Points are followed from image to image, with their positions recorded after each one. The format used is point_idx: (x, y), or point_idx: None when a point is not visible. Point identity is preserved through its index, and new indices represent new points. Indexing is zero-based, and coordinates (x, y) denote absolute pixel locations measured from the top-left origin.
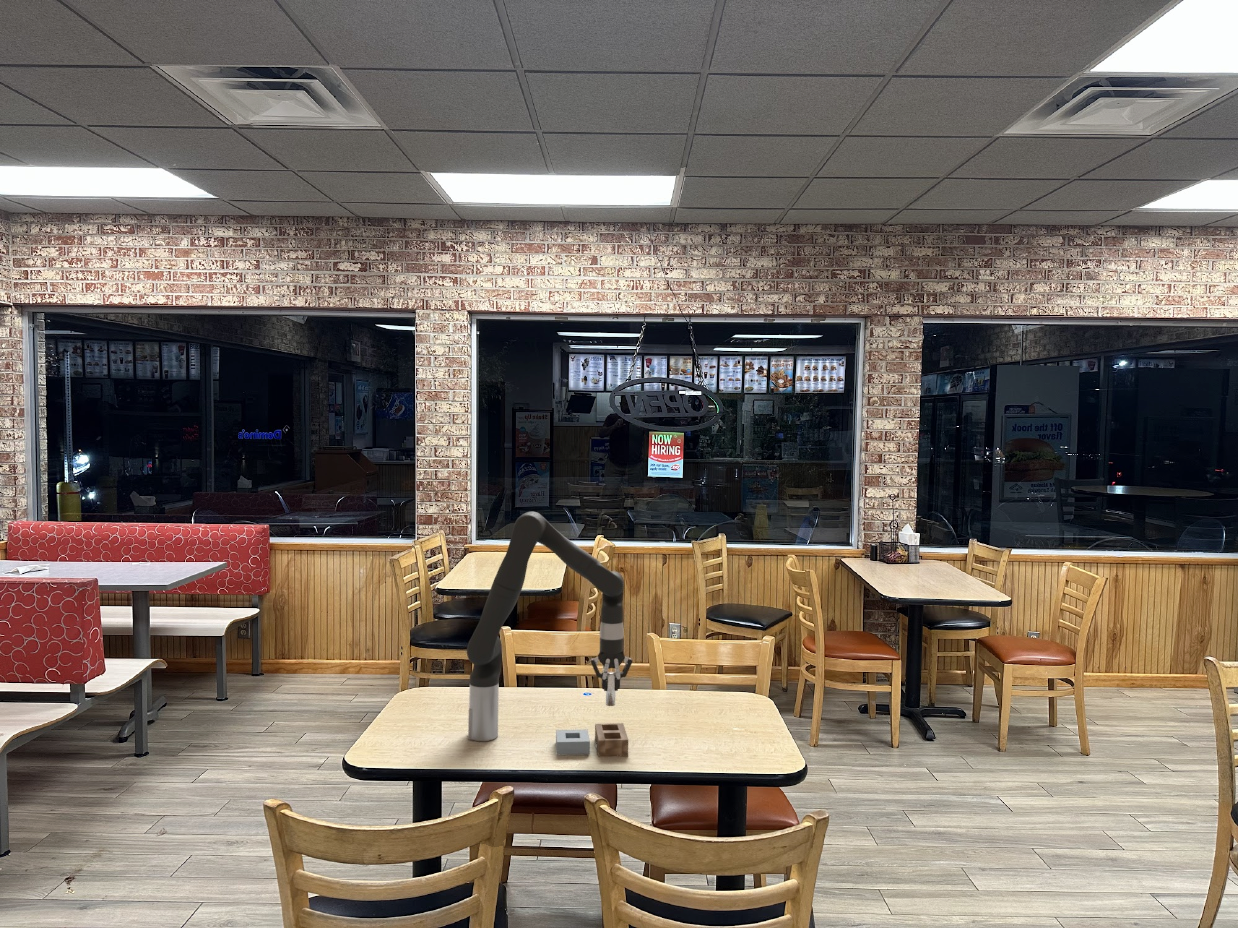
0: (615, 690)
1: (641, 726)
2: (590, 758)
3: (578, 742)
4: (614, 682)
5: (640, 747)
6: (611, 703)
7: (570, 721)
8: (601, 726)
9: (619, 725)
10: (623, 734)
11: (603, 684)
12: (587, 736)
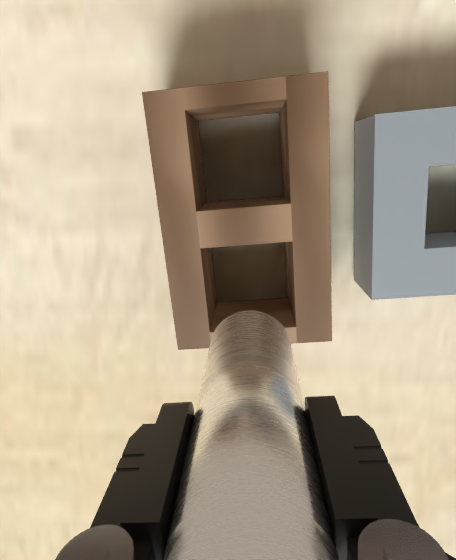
0: (193, 413)
1: (116, 443)
2: (352, 75)
3: (443, 107)
4: (192, 476)
5: (110, 223)
6: (242, 319)
7: (408, 494)
8: (298, 300)
9: (197, 316)
10: (173, 180)
11: (366, 461)
12: (382, 193)
